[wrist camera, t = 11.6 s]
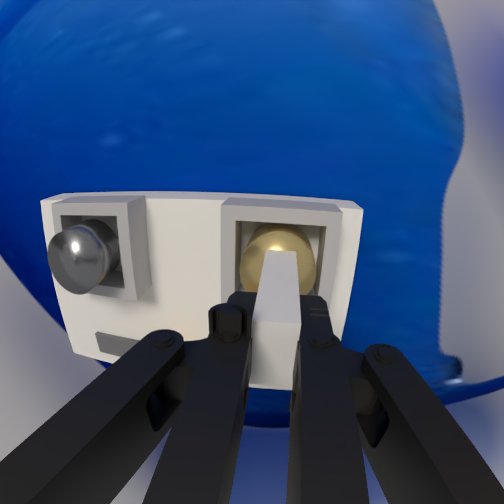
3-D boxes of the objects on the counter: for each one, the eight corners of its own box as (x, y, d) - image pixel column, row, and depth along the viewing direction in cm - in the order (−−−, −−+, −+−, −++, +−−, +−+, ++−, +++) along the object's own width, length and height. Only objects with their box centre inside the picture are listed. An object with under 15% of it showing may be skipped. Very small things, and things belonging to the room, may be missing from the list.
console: (88, 336, 27) (61, 367, 22) (62, 191, 22) (19, 204, 17) (324, 368, 25) (330, 413, 20) (353, 198, 20) (375, 215, 15)
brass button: (245, 280, 19) (238, 303, 16) (247, 219, 18) (240, 233, 15) (308, 284, 19) (311, 308, 16) (314, 223, 18) (320, 238, 15)
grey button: (78, 272, 19) (54, 290, 16) (70, 218, 18) (42, 230, 15) (124, 278, 19) (101, 298, 16) (117, 219, 17) (90, 233, 14)
